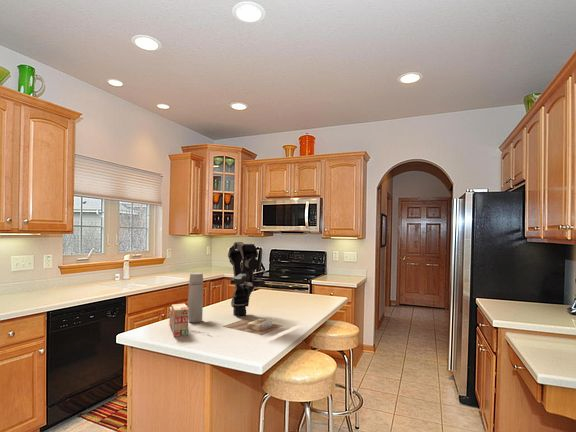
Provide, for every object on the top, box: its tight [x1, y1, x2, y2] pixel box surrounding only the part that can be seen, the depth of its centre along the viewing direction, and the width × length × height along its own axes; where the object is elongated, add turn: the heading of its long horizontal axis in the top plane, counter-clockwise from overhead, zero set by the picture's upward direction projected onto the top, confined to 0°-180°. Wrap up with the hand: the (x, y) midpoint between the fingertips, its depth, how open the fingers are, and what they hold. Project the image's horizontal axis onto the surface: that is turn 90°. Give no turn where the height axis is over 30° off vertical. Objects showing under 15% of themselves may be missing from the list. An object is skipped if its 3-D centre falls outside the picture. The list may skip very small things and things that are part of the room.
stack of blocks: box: [168, 303, 189, 338], centre depth 163 cm, size 21×6×12 cm, turn 25°
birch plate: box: [247, 318, 268, 331], centre depth 164 cm, size 7×10×2 cm
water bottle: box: [186, 272, 204, 324], centre depth 180 cm, size 9×8×25 cm
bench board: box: [222, 318, 284, 336], centre depth 165 cm, size 24×18×2 cm
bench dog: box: [261, 319, 273, 331], centre depth 161 cm, size 2×7×4 cm, turn 147°
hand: (247, 298), depth 174 cm, fingers closed
